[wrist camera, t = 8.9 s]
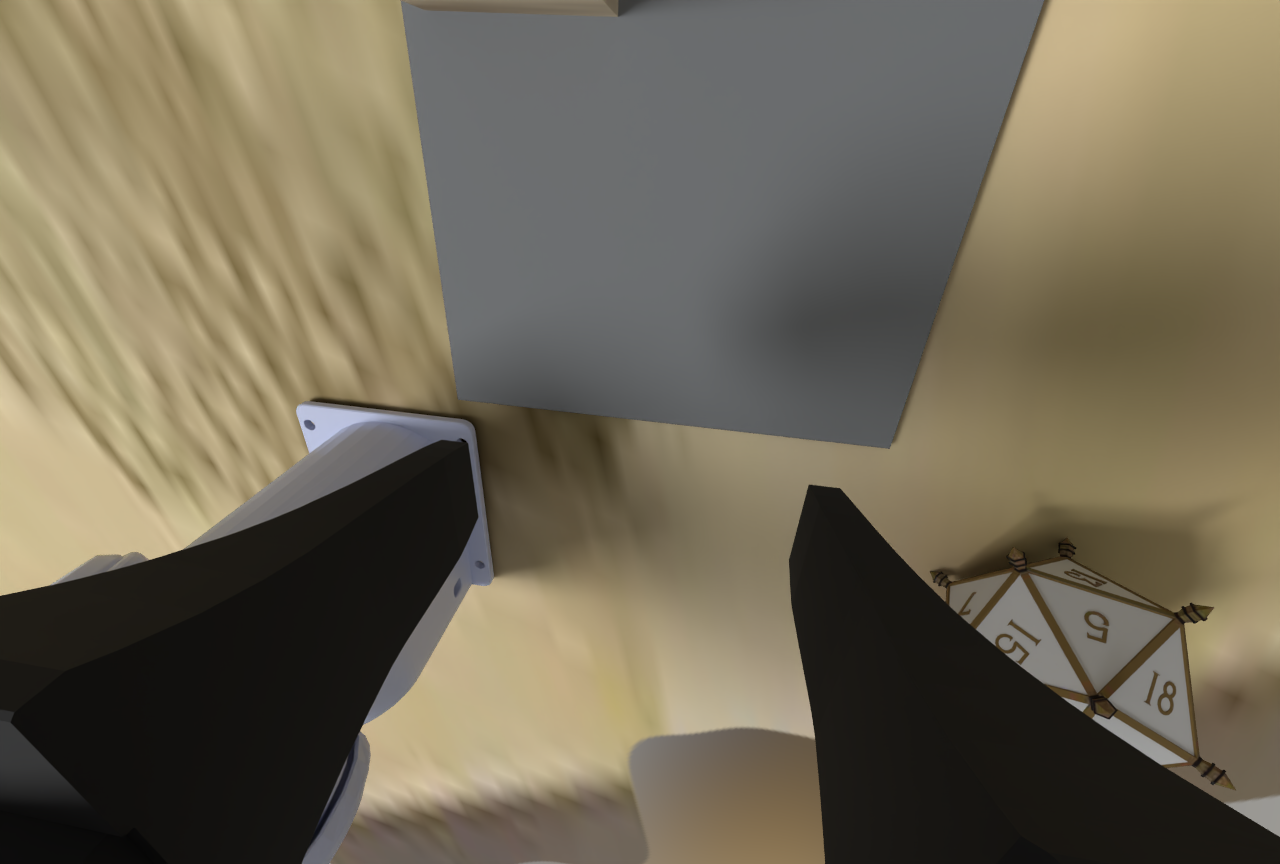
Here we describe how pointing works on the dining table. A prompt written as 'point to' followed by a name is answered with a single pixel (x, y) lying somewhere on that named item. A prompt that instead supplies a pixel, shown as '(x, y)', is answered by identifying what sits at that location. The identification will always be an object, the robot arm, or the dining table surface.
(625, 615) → the dining table surface
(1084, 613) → the game die
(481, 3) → the maple block
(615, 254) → the mat
